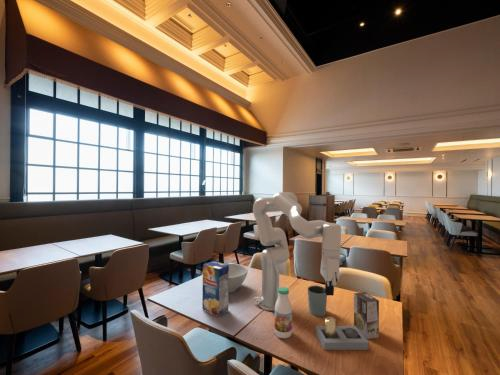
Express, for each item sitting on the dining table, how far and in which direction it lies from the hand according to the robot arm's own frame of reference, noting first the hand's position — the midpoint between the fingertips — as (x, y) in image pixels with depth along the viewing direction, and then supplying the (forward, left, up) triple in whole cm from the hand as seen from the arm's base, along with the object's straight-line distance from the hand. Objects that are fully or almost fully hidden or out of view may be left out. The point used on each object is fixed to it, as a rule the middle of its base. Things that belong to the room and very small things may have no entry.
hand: (329, 294), depth 99 cm
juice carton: (-52, +24, -20) cm, 61 cm away
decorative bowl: (-48, +50, -20) cm, 72 cm away
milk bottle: (-19, +4, -20) cm, 28 cm away
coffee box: (+19, +5, -20) cm, 28 cm away
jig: (+5, -1, -20) cm, 20 cm away
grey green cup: (+2, +22, -20) cm, 30 cm away
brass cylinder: (0, 0, -20) cm, 20 cm away
